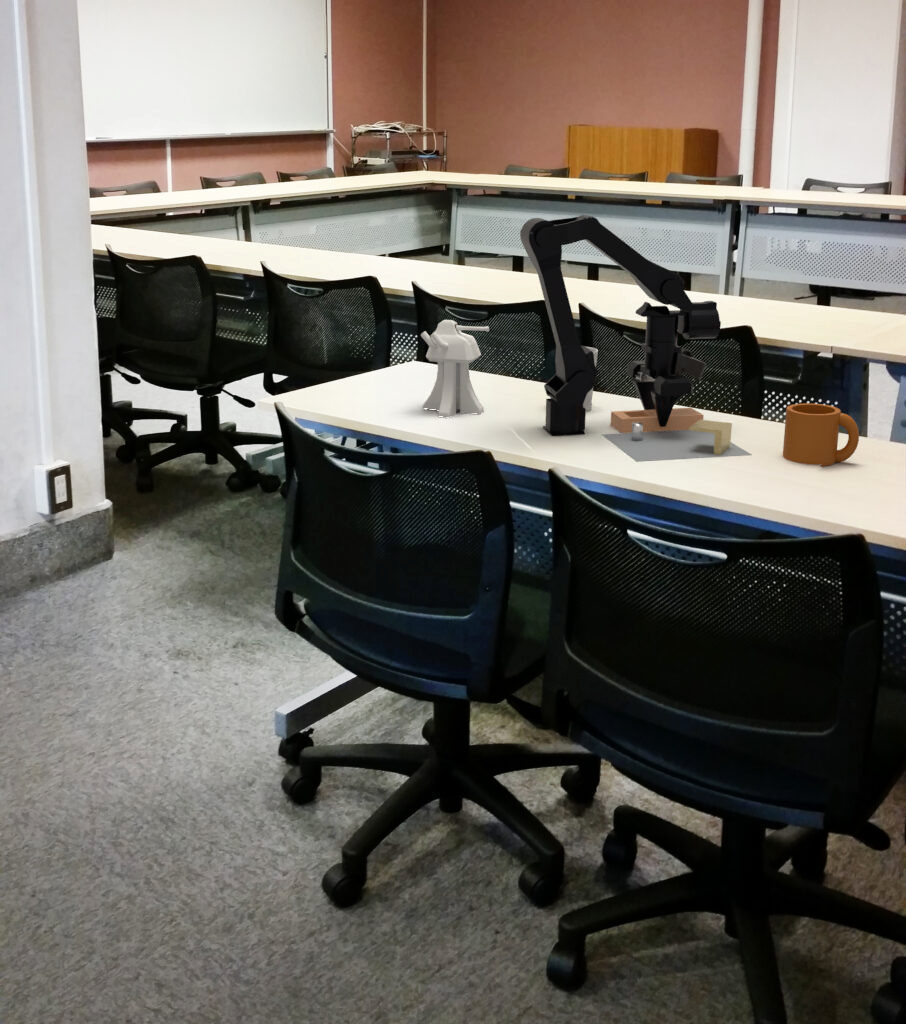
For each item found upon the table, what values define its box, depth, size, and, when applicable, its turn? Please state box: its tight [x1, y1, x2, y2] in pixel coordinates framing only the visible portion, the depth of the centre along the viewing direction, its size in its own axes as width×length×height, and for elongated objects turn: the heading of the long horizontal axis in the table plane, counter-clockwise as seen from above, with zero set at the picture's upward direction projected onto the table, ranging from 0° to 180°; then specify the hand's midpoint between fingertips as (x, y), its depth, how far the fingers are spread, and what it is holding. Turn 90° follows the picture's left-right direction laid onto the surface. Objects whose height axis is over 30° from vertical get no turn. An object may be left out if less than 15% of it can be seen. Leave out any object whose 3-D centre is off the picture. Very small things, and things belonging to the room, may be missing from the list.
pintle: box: [631, 422, 643, 441], centre depth 215 cm, size 2×2×3 cm
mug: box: [782, 403, 860, 467], centre depth 202 cm, size 9×12×9 cm
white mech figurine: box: [420, 319, 490, 418], centre depth 235 cm, size 12×13×18 cm
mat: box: [601, 429, 753, 463], centre depth 212 cm, size 21×18×1 cm
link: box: [610, 407, 704, 433], centre depth 224 cm, size 16×6×3 cm, turn 102°
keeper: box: [689, 419, 733, 455], centre depth 209 cm, size 6×6×4 cm
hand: (656, 422), depth 224 cm, fingers closed on link, 6 cm apart
